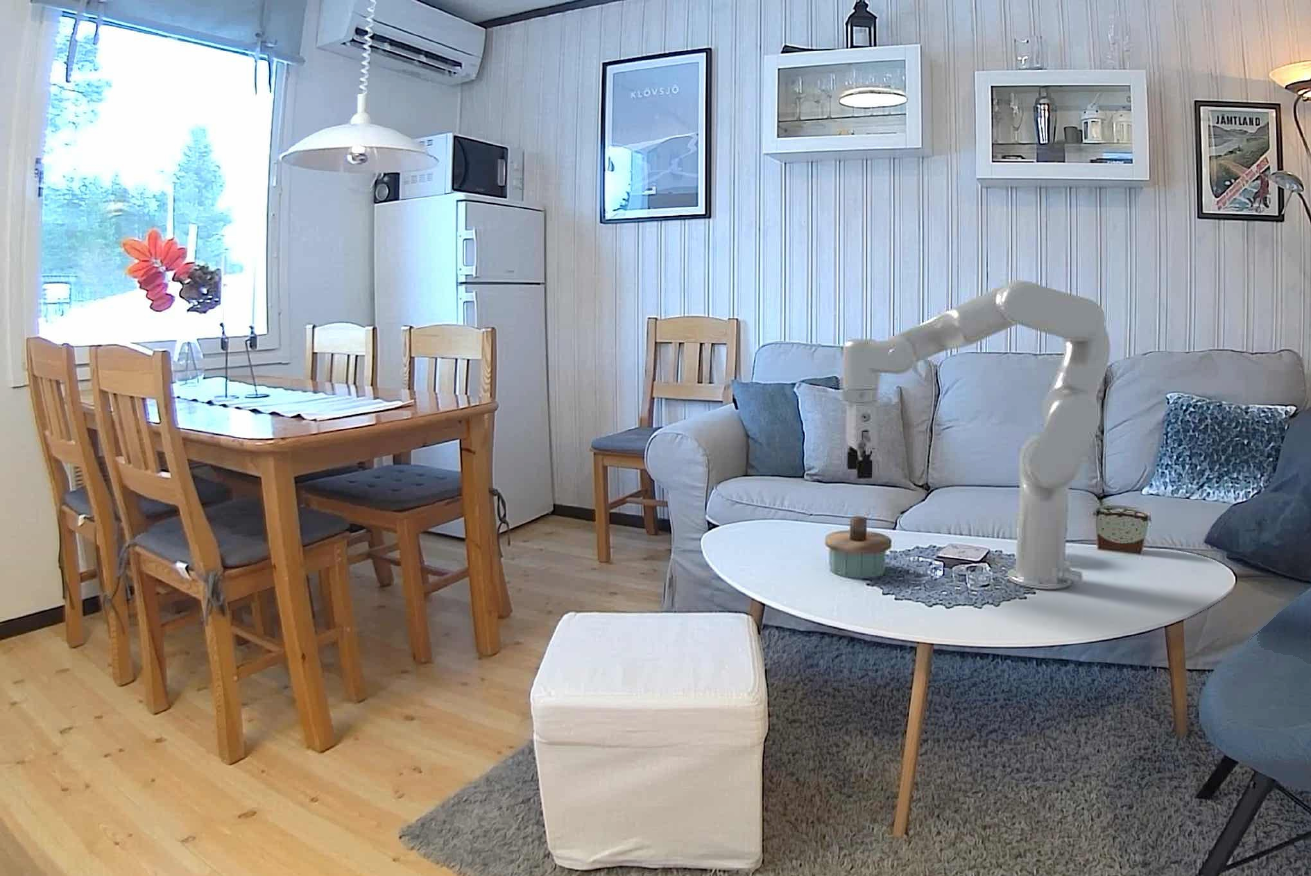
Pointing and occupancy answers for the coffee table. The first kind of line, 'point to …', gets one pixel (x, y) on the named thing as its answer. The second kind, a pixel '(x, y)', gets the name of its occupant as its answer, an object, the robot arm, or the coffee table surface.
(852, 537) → the lid
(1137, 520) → the food container
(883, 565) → the bowl
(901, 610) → the coffee table surface
